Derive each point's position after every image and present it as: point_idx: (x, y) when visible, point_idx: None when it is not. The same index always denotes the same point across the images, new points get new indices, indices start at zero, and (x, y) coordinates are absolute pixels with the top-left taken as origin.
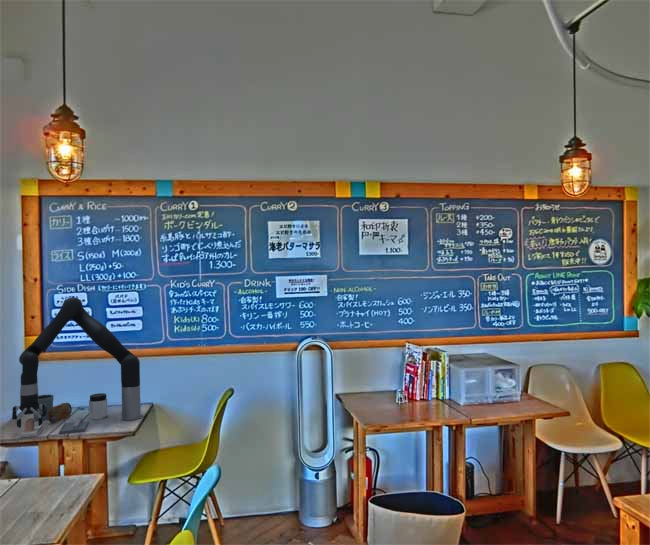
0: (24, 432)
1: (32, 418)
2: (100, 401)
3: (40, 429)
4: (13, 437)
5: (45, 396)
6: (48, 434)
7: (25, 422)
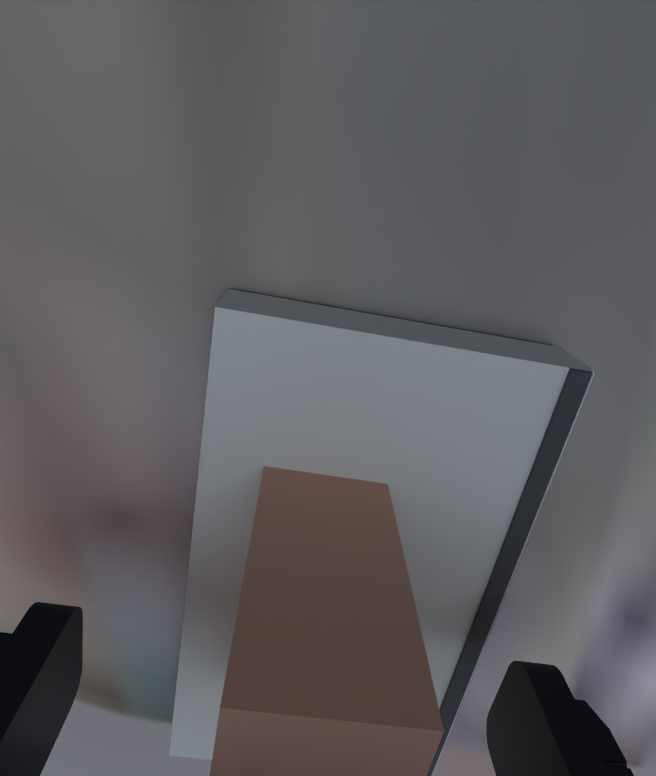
0: (212, 679)
1: (376, 767)
2: None
3: (494, 611)
4: None
5: None
6: None
7: None
